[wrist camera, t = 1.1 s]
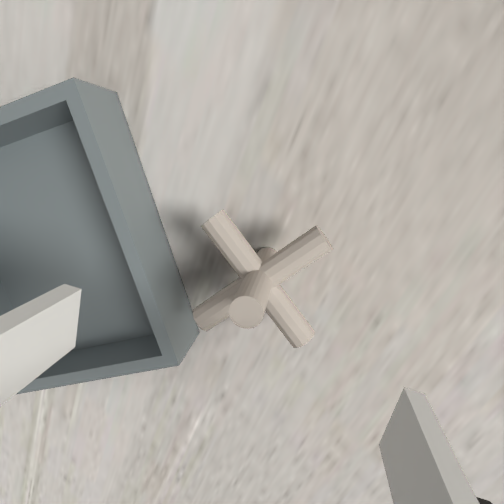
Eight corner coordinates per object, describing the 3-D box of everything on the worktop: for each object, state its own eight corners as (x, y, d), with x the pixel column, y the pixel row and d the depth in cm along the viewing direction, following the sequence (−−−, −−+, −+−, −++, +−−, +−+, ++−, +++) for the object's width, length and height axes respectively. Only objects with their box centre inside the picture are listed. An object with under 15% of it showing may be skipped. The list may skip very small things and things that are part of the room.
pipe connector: (358, 274, 27) (387, 340, 17) (255, 337, 29) (230, 424, 20) (281, 166, 25) (266, 172, 16) (181, 243, 28) (117, 287, 19)
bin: (-58, 158, 29) (-128, 158, 25) (116, 92, 26) (73, 77, 21) (38, 364, 34) (-7, 398, 29) (199, 332, 30) (179, 365, 25)
